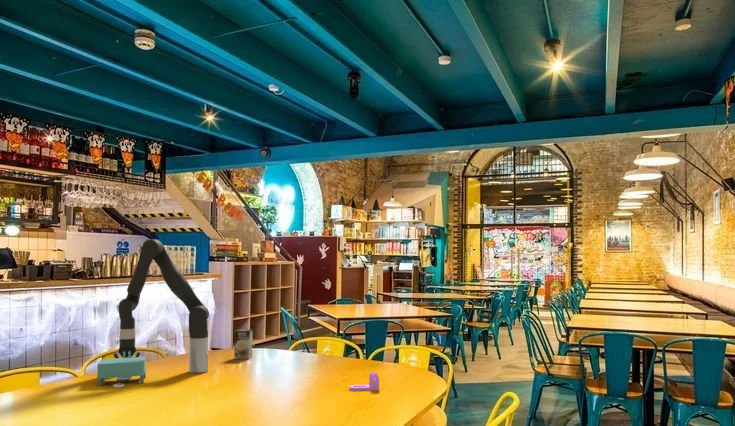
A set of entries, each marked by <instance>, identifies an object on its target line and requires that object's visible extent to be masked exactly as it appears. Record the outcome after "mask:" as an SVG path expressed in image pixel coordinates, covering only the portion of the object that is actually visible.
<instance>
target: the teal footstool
mask: <svg viewBox="0 0 735 426" xmlns="http://www.w3.org/2000/svg"><path fill="white" fill-rule="evenodd" d="M146 364H147V356H139V357H136V356H134V357H132V358H123V357H119V358H115V357H114V358H102V359H100V361H99V362H98V363H97V368H96V369H97V371H96V374H97V375H96V377H97V378H96V386H97V387H101V386H102V382H104V381H105V380H106V379H108V378H109V379H111V378H118V377H129V376H132V377H139V384H144V383H145V381H144V380H145V379H146V377H147V376H146V373H147V372H146V371H147V370H146V369H147V368H146V367H147V366H146Z"/></svg>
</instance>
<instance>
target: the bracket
mask: <svg viewBox="0 0 735 426" xmlns="http://www.w3.org/2000/svg"><path fill="white" fill-rule="evenodd" d="M368 380H369V381H368V384H351V385H349V388H348V390H349V391H351V392H353V391H354V392H356V391H357V392H361V391H379V390H380V377H379V375H378V373H377V372H376V371H372V372H370V373H369V375H368Z"/></svg>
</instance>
